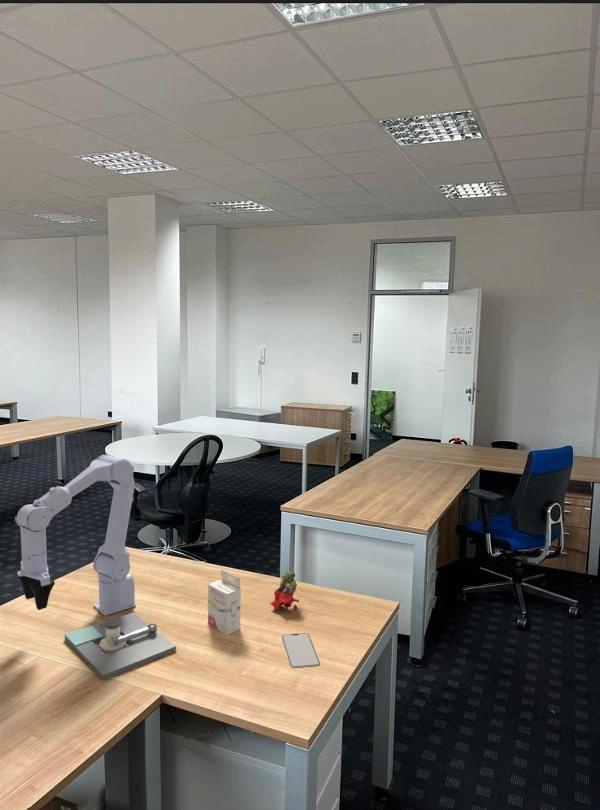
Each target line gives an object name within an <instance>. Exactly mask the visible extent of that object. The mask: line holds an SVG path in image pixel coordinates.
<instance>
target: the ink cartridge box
mask: <svg viewBox="0 0 600 810" xmlns="http://www.w3.org/2000/svg"><path fill="white" fill-rule="evenodd" d="M220 576H221V579H219V580H216V581H213V582H210V583H208V587H207V588H208V589H207V592H208V593H207V595H208V596H207V597H208V598H207V625H209V626H211V627H213V628H214V629H216V630H218V631H219V632H221V634H224V635H226V636H229V635H231V634H233V633H234V632H236V631H239V630H240V629H241V593H242V589H241V579H240V577H238V576H237V575H234V574H233V573H230V572H228V571H226V570H224V569H220ZM228 577H230V578H228Z"/></svg>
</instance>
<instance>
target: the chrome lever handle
mask: <svg viewBox="0 0 600 810" xmlns="http://www.w3.org/2000/svg"><path fill="white" fill-rule="evenodd" d="M148 624H149V625H148V626H147V627H146V628H143V629H140V630H138V631H135V632H132V633H129V634H126V635H124V636H121V637H118V636H117V635H113V636H111V645H112V646H115V645H117V644H120V643H123V642H126V643H127V642H128V640H131V639H134V638H137V637H139V636H142V635H145V634H147V633H155V632H156V631H157V632H158V629H157V627H158V626H157V624H156V623H148Z"/></svg>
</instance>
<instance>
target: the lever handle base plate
mask: <svg viewBox="0 0 600 810" xmlns="http://www.w3.org/2000/svg"><path fill="white" fill-rule="evenodd" d="M111 621H118V622H119V623H120V635H121V636H124V635H126V634H129V633H132V632H135V631H138V630H140V629H143V628H146V627H147V626H148V625H149V624H150V623H147V622H146V621H145V620H144V619H142V618H141V617H140V616H138V615H137V614H136V613H134V612H131V613H128V614H127V613H126V614H125V615H122V616H118V617H116V618H113V619H112V618H111V619H109V620H107V621H104V622H100V623H98V624H95V625H88V626H85V627H83V628H79V629H76V630H73V631H70V632H67V633H65V634H64V640H65V641H66V643H67V644H68V645H69V646H70V647H71V648H72V649H73V650H74V651H75V653H77V654H78V655H79V656H80V657H81V659H82V660H84V661H85V663H86V665H88V666H89V667H90V668H91V669H92V670H93V671H94V672H95V673H96V675H98V677H100V679H102V680H103V681H104V680H107V679H109V678H111V677H112V678H113V677H114V676H117V675H119V674H121V673H124V672H126V671H129V670H132V669H133V668H137V667H139V666H141V665H145V664H146V663H149V662H151V661H155V660H156V659H159V658H162V657H164V656H167V655H169V654H172V653H174V652H176V651H177V645H176V644H174V643H172V641H171V640H169V639H167V638H166V637H165V636H164V635H163V634H161V633H160V632H159V631H158V630H157V631H156V632H155V633H147V634H145V635H142V636H139V637H137V638H134V639H131V640H128V641H127V642H128V643H129V644H128V645H127V644H126V646H125V647H122V648H119V649H117V650H114V651H111V652H109V653H104V652H103V651H102V650H100V647H99V646H97V644H100V641H101V640H102V639H104V638H105V637H106V624H107V623H108V622H111Z"/></svg>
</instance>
